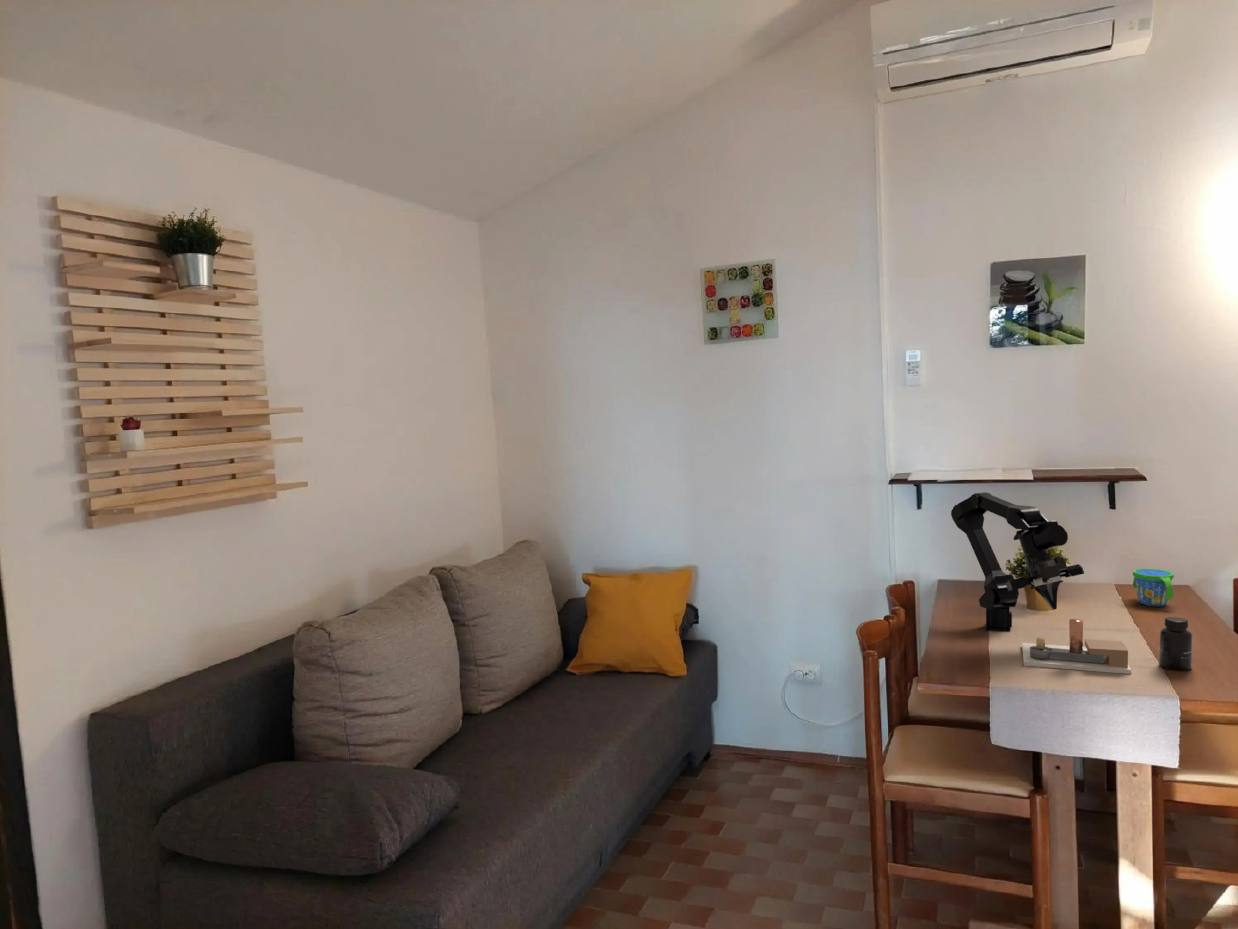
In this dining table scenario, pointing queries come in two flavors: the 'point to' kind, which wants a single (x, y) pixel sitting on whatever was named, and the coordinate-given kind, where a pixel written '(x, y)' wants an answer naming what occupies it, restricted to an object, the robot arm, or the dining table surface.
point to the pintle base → (1113, 662)
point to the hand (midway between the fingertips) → (1054, 609)
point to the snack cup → (1153, 586)
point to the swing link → (1074, 649)
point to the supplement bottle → (1175, 645)
